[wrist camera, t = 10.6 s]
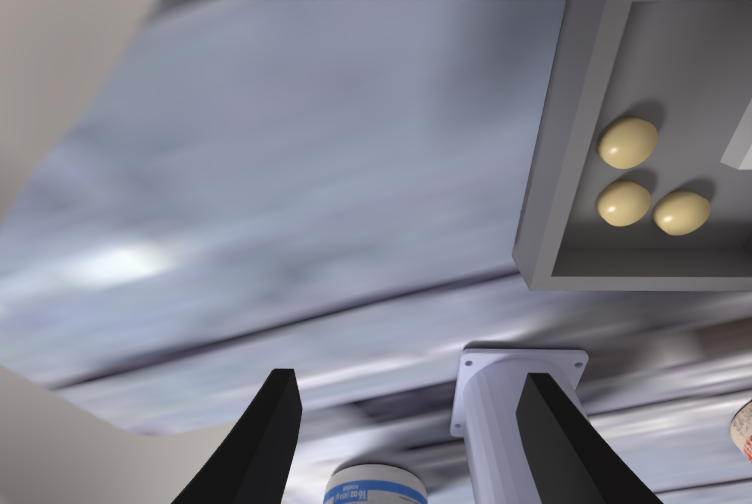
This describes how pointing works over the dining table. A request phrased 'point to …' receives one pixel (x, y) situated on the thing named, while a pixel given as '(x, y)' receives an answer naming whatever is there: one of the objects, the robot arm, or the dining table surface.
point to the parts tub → (643, 151)
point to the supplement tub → (374, 486)
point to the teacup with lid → (743, 431)
